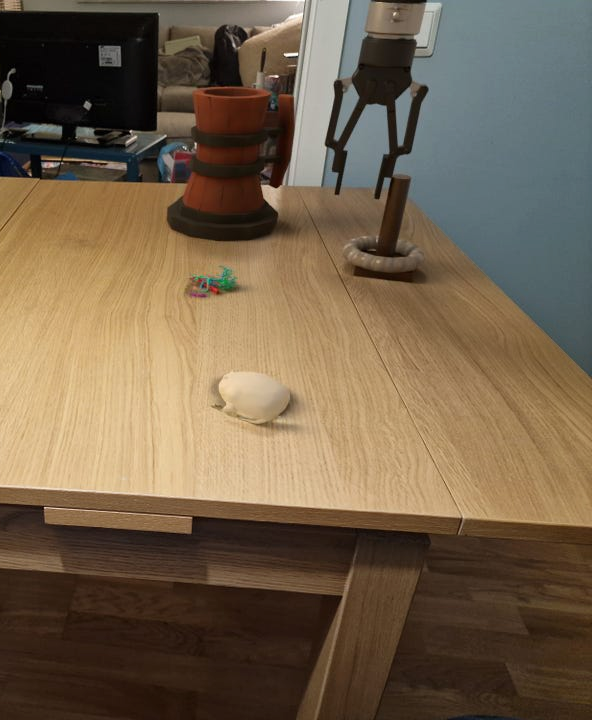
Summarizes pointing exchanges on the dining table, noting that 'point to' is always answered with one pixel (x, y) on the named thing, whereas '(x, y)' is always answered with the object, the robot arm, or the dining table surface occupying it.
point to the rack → (390, 229)
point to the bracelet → (383, 264)
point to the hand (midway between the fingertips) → (356, 194)
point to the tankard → (232, 165)
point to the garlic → (253, 396)
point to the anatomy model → (210, 281)
